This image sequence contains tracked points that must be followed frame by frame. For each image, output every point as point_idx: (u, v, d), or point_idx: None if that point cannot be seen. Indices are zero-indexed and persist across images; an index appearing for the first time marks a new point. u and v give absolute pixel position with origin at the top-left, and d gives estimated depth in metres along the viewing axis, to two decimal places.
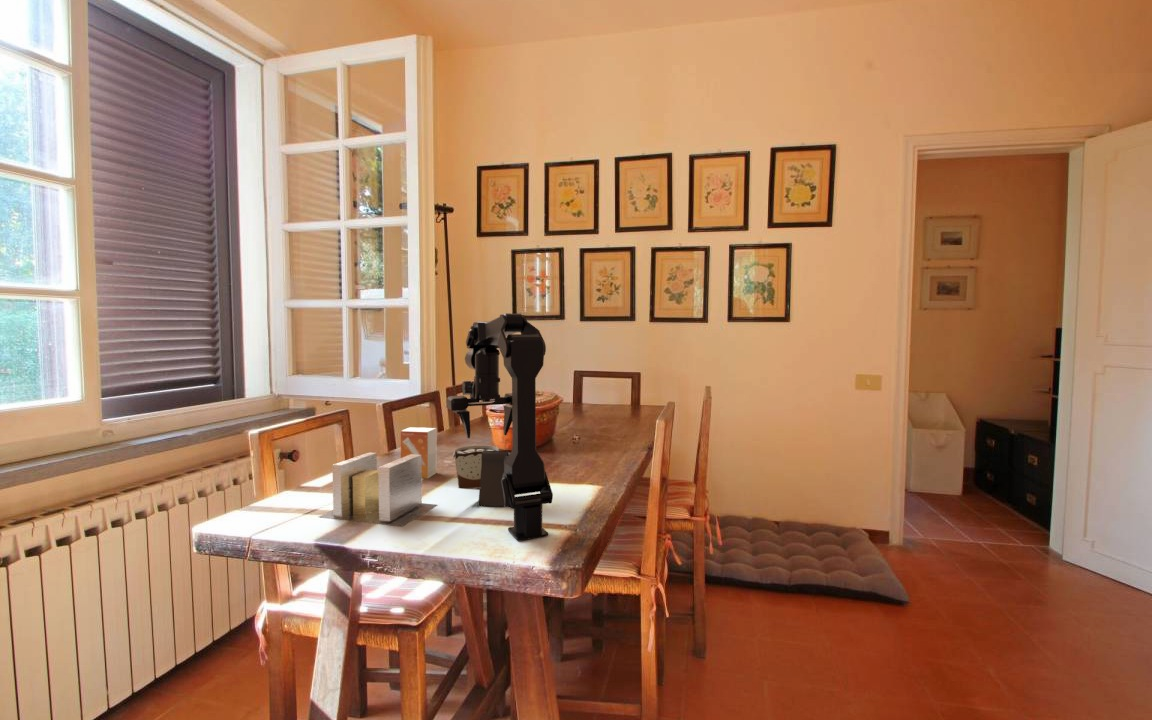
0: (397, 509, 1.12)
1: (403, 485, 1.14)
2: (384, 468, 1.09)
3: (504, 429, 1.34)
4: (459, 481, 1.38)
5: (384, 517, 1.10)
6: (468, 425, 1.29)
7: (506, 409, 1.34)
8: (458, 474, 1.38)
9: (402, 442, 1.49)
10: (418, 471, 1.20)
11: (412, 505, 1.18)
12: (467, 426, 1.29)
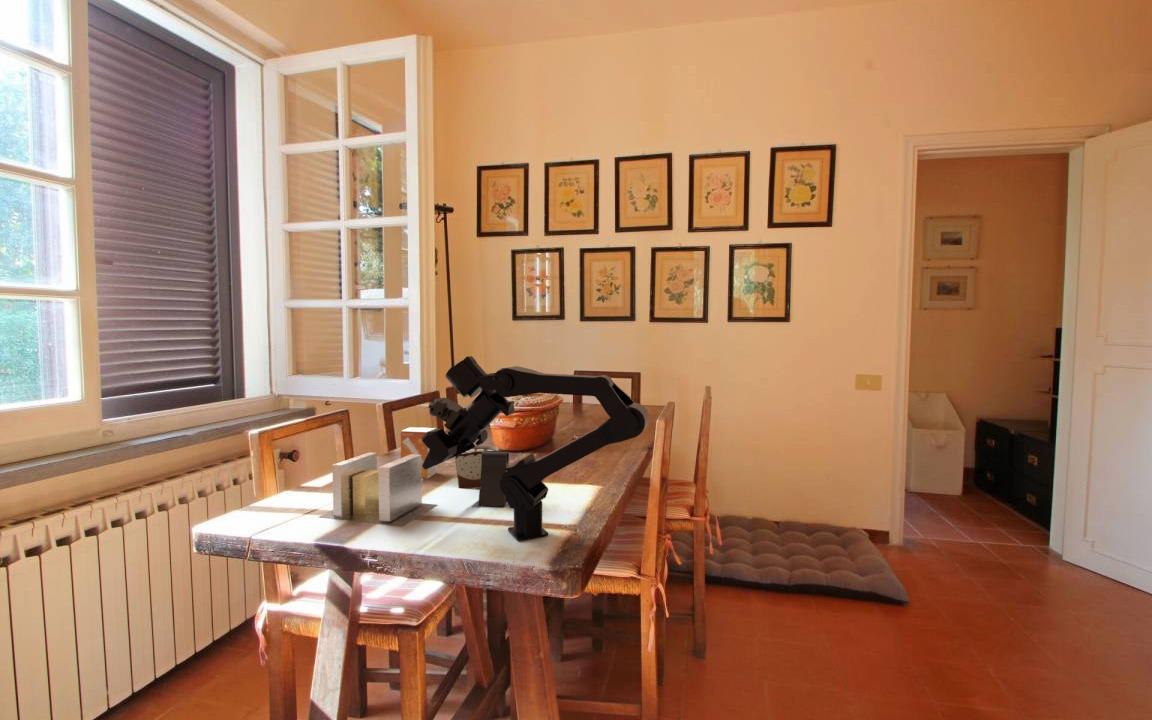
0: (397, 509, 1.12)
1: (403, 485, 1.14)
2: (384, 468, 1.09)
3: None
4: (459, 481, 1.38)
5: (384, 517, 1.10)
6: (438, 463, 1.09)
7: None
8: (458, 474, 1.38)
9: (402, 442, 1.49)
10: (418, 471, 1.20)
11: (412, 505, 1.18)
12: (437, 464, 1.09)
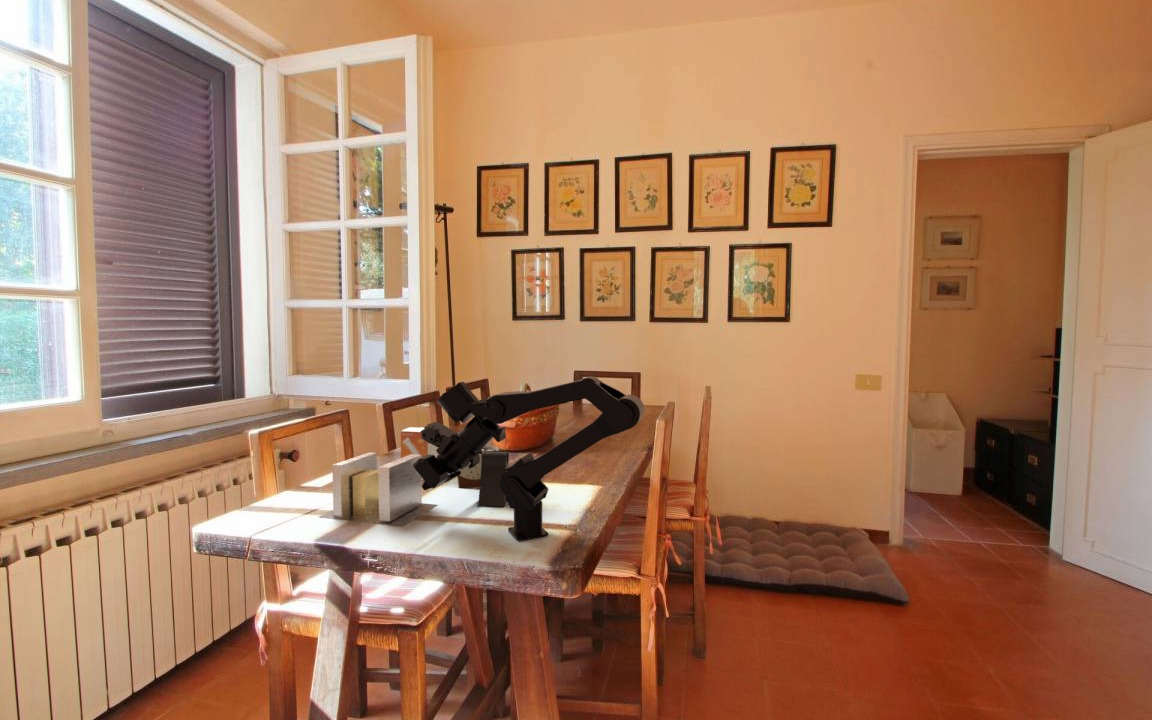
0: (397, 509, 1.12)
1: (403, 485, 1.14)
2: (384, 468, 1.09)
3: None
4: (459, 481, 1.38)
5: (384, 517, 1.10)
6: None
7: None
8: None
9: (402, 442, 1.49)
10: None
11: (412, 505, 1.18)
12: None
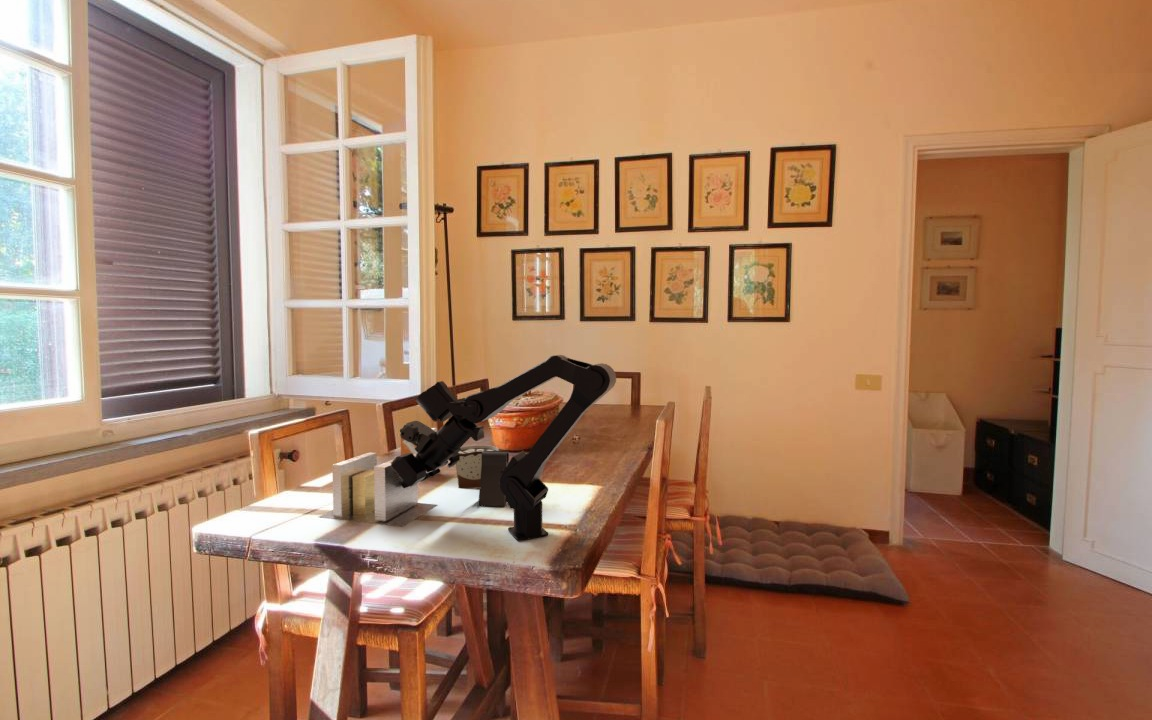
0: (393, 508, 1.12)
1: (399, 484, 1.14)
2: (380, 468, 1.10)
3: None
4: (459, 481, 1.38)
5: (380, 517, 1.10)
6: None
7: None
8: (458, 474, 1.38)
9: (402, 442, 1.49)
10: None
11: (408, 504, 1.18)
12: None
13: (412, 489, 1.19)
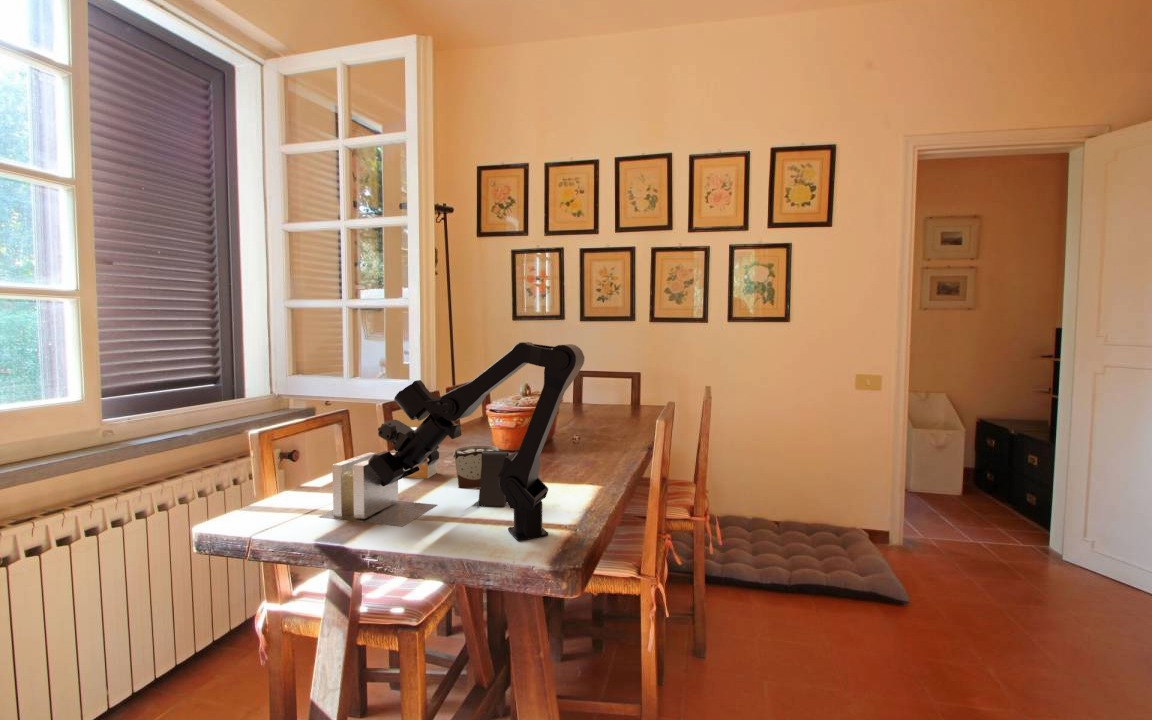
0: (372, 506, 1.14)
1: (378, 483, 1.16)
2: (358, 466, 1.11)
3: None
4: (459, 481, 1.38)
5: (359, 514, 1.11)
6: None
7: None
8: (458, 474, 1.38)
9: None
10: None
11: (388, 502, 1.19)
12: None
13: (392, 487, 1.21)
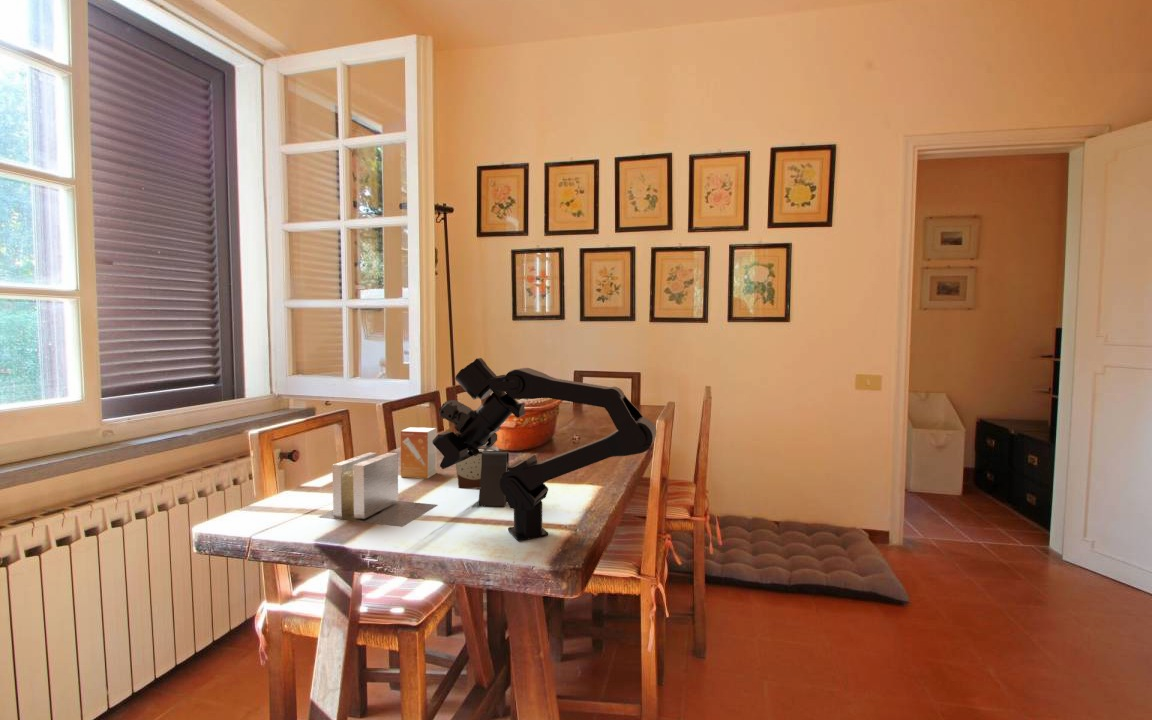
0: (372, 506, 1.14)
1: (378, 483, 1.16)
2: (358, 466, 1.11)
3: None
4: (459, 481, 1.38)
5: (359, 514, 1.11)
6: None
7: None
8: (458, 474, 1.38)
9: (402, 442, 1.49)
10: (394, 469, 1.21)
11: (388, 502, 1.19)
12: None
13: (392, 487, 1.21)
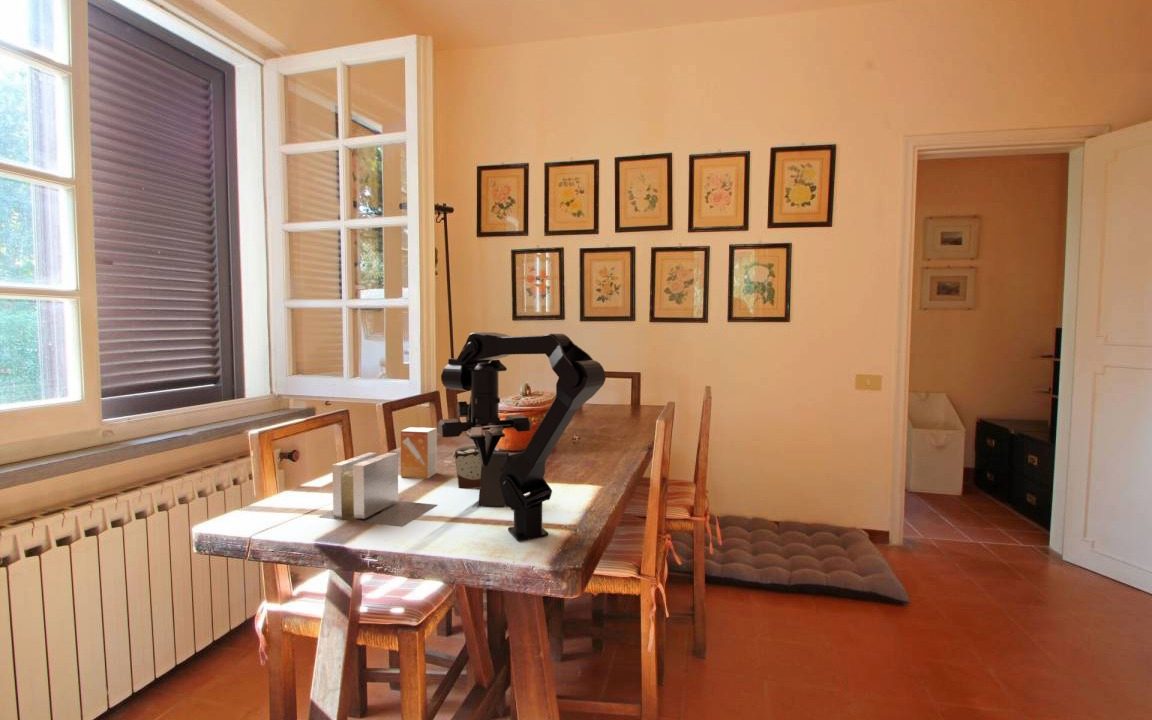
0: (372, 506, 1.14)
1: (378, 483, 1.16)
2: (358, 466, 1.11)
3: None
4: (459, 481, 1.38)
5: (359, 514, 1.11)
6: (484, 452, 1.12)
7: (488, 436, 1.14)
8: (458, 474, 1.38)
9: (402, 442, 1.49)
10: (394, 469, 1.21)
11: (388, 502, 1.19)
12: (482, 453, 1.12)
13: (392, 487, 1.21)
